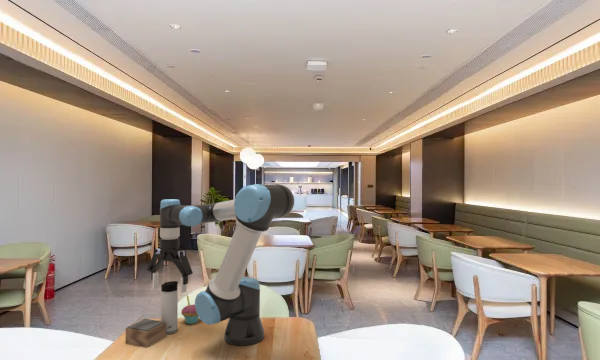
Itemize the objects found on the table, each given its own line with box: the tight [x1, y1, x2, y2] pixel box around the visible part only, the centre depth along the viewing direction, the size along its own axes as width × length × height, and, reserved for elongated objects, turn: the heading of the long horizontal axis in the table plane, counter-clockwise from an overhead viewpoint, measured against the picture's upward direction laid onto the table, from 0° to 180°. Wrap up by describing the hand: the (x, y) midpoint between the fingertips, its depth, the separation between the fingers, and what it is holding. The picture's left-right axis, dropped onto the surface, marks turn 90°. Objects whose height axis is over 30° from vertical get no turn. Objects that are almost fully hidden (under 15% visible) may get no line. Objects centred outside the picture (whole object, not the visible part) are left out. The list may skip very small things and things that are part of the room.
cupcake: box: [181, 294, 200, 325], centre depth 166 cm, size 9×8×12 cm
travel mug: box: [160, 280, 179, 335], centre depth 156 cm, size 6×7×20 cm
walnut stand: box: [125, 318, 167, 348], centre depth 147 cm, size 10×10×6 cm
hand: (169, 290), depth 156 cm, fingers open, 13 cm apart
